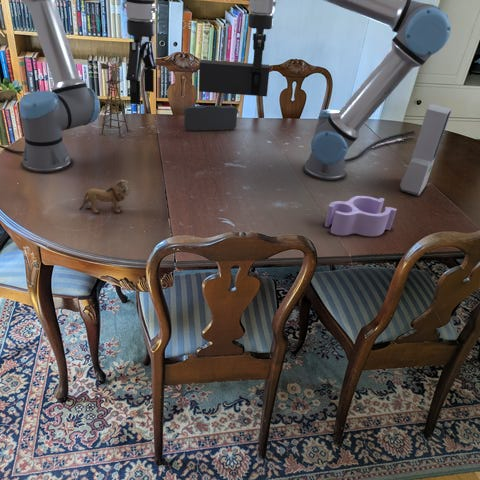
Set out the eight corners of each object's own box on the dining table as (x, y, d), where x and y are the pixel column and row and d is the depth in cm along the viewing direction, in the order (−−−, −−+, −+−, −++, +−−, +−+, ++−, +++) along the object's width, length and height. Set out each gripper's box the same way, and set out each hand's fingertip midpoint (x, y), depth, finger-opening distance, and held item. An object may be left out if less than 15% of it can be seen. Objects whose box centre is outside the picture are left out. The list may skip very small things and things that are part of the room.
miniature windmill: (120, 137, 185) (116, 58, 169) (100, 134, 186) (94, 55, 170) (129, 130, 193) (126, 54, 176) (110, 127, 194) (105, 51, 177)
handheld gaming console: (234, 127, 207) (236, 105, 202) (236, 129, 205) (238, 107, 200) (183, 128, 200) (184, 105, 195) (185, 131, 198) (185, 107, 192)
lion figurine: (129, 202, 142) (128, 176, 137) (131, 211, 138) (130, 184, 133) (78, 207, 137) (75, 179, 132) (79, 216, 133) (76, 188, 128)
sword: (410, 136, 218) (410, 134, 218) (415, 138, 216) (416, 136, 216) (366, 148, 203) (366, 145, 202) (371, 151, 201) (372, 148, 200)
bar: (199, 91, 151) (199, 62, 146) (200, 88, 155) (200, 59, 150) (266, 96, 152) (269, 67, 147) (266, 92, 155) (269, 64, 150)
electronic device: (418, 197, 164) (446, 113, 148) (397, 190, 167) (423, 108, 151) (426, 185, 173) (454, 105, 157) (406, 179, 176) (431, 100, 160)
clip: (337, 240, 135) (342, 219, 131) (318, 218, 145) (322, 198, 141) (395, 233, 141) (402, 213, 137) (373, 213, 151) (378, 194, 147)
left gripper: (140, 27, 117) (142, 111, 128) (166, 15, 138) (165, 88, 149) (111, 24, 117) (115, 107, 129) (141, 12, 138) (142, 85, 150)
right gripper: (274, 18, 133) (267, 100, 146) (272, 11, 148) (265, 85, 160) (248, 16, 133) (243, 98, 146) (249, 9, 148) (244, 84, 160)
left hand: (142, 97), depth 139 cm, fingers open, 13 cm apart
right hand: (255, 91), depth 153 cm, fingers closed on bar, 4 cm apart
